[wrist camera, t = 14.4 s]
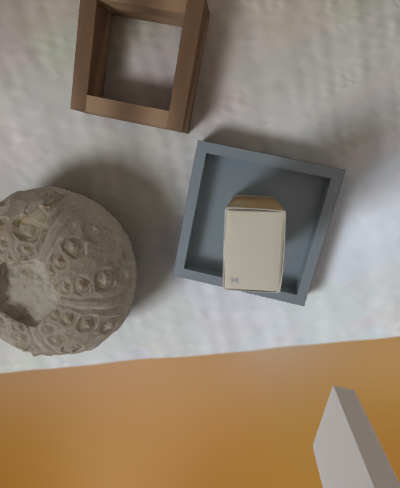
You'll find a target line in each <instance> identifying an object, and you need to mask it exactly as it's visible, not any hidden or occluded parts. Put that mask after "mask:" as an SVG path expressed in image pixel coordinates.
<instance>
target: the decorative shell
mask: <svg viewBox="0 0 400 488" xmlns="http://www.w3.org/2000/svg"><path fill="white" fill-rule="evenodd" d="M136 265H137V261H136V259H135V255H134V251H133V246H132V243H131V241H130V238H129V236H128V235H127V233H126V232H125V231H124V229H123V227H122V225H121V224H120V223H119V221H118V220H117V219H116V218H115V217H114V216H113V215H112V214H110V213H109V212H108V211H107V209H105V208H104V207H103V206H102V205H100V204H99V203H97V202H96V201H94V200H92V199H89V198H87V197H86V196H84V195H82V194H77V193H74V192H71V191H69V190H67V189H62V188H58V187H54V186H46V187H42V188H36V189H31V190H26V191H17V192H15V193H13V194H11V195H10V196H8V197H7V198H6V199H4V200H2V201H1V202H0V338H1V339H2V340H4V341H5V342H7V343H9V344H10V345H12V346H14V347H16V348H18V349H21V350H23V351H28V352H31V353H32V354H33V356H37V355H47V356H52V355H63V354H76V353H80V352H84V351H88V350H92V349H94V348H95V347H97V346H99V345H100V344H101V343H102V342H103V341H104V340H105V339H106V338H108V337H109V336H110V335H111V334H112V333H113V332H115V331H116V330H118V329H119V328H120V326H121V325H122V324H123V322H124V321H125V319H126V318H127V316H128V315H129V311H130V308H131V306H132V305H133V299H134V293H135V288H136V281H137V269H136Z"/></svg>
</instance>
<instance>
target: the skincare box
mask: <svg viewBox="0 0 400 488" xmlns="http://www.w3.org/2000/svg"><path fill="white" fill-rule="evenodd" d="M285 227H286V211H285V210H284V209H283V208H282V206H281V205H280V204H279V203H278V201H277V200H276V199H275V198H274V197H273V196H258V195H234V196H233V197H232V199H231V201H230V202H229V204H228V206H227V207H226V209H225V220H224V247H223V289H224V290H235V291H248V292H264V293H279V292H280V290H281V283H282V275H283V264H284V249H285Z"/></svg>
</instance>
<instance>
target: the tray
mask: <svg viewBox="0 0 400 488" xmlns="http://www.w3.org/2000/svg"><path fill="white" fill-rule="evenodd" d="M344 173H345V170H343V169H338V168H333V167H328V166H323V165H318V164H313V163H308V162H303V161H298V160H293V159H288V158H284V157H279V156H274V155H269V154H264V153H259V152H254V151H249V150H244V149H239V148H234V147H229V146H224V145H219V144H214V143H209V142H204V141H199V140H198V143H197V149H196V154H195V159H194V165H193V170H192V175H191V181H190V186H189V191H188V197H187V202H186V207H185V213H184V218H183V224H182V229H181V234H180V240H179V245H178V250H177V256H176V261H175V266H174V272H173V275H174V276H179V277H183V278H187V279H191V280H196V281H200V282H204V283H208V284H212V285H217V286H221V287H223V247H224V220H225V209H226V207H227V206H228V204H229V202H230V201H231V199H232V197H233V196H234V195H258V196H273V197H274V198H275V199H276V200H277V201H278V203H279V204H280V205H281V206H282V208H283V209H284V210H285V211H286V227H285V249H284V264H283V275H282V283H281V290H280V292H279V293H264V292H248V291H242V292H246V293H250V294H255V295H259V296H263V297H267V298H272V299H276V300H280V301H284V302H288V303H293V304H297V305H301V306H304V305H305V301H306V298H307V295H308V292H309V288H310V285H311V282H312V278H313V275H314V272H315V268H316V265H317V262H318V259H319V255H320V252H321V249H322V245H323V242H324V239H325V236H326V232H327V229H328V226H329V222H330V219H331V216H332V212H333V209H334V206H335V203H336V199H337V196H338V193H339V189H340V186H341V183H342V179H343V176H344Z"/></svg>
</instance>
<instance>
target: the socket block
mask: <svg viewBox="0 0 400 488" xmlns="http://www.w3.org/2000/svg"><path fill="white" fill-rule="evenodd" d="M112 15H117V16H123V17H128V18H134V19H140V20H146V21H151V22H157V23H163V24H168V25H174V26H180V27H183V28H182V34H181V40H180V46H179V53H178V59H177V65H176V71H175V77H174V84H173V90H172V96H171V102H170V108H169V111H166V110H161V109H156V108H151V107H146V106H141V105H136V104H131V103H126V102H121V101H115V100H110V99H105V98H103V90H104V81H105V72H106V63H107V55H108V46H109V37H110V28H111V19H112ZM209 15H210V13H209V9H208V5H207V1H206V0H80V9H79V20H78V31H77V42H76V53H75V64H74V75H73V86H72V98H71V109H74V110H77V111H81V112H84V113H88V114H93V115H98V116H103V117H108V118H113V119H118V120H123V121H128V122H133V123H138V124H143V125H148V126H153V127H158V128H163V129H168V130H173V131H178V132H183V133H187V134H188V132H189V127H190V121H191V116H192V110H193V104H194V99H195V93H196V88H197V82H198V76H199V71H200V65H201V60H202V54H203V48H204V43H205V37H206V32H207V26H208V20H209Z"/></svg>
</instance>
